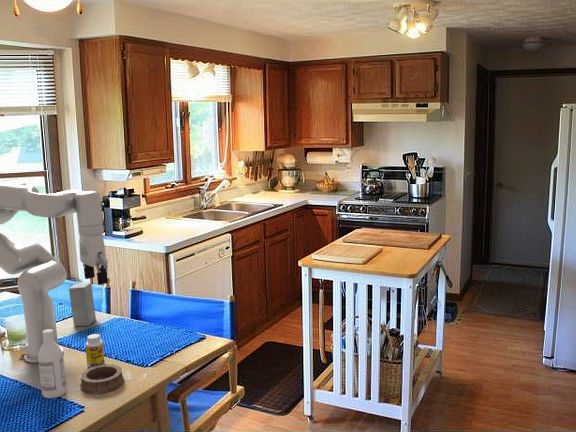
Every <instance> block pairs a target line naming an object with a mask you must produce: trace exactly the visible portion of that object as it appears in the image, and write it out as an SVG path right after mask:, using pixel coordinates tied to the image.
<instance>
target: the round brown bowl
mask: <svg viewBox="0 0 576 432" xmlns="http://www.w3.org/2000/svg"><path fill="white" fill-rule="evenodd" d="M80 380H81V381H80V386H79V387H80V390H81V391H82V392H83V393H85V394H88V395H101V394H106V393H110V392H113V391H116V390H117V389H120V388H121V387H122V386H123V385H124V383H125V377H124V376H123V369H122V366H119V365H116V364H110V363H109V364H108V363H107V364H106V363H104V365H98V366H94V367H92V368H90V367H88V368H87V369H85V370H84V371H83V372H82V373H81V375H80Z"/></svg>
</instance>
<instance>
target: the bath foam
mask: <svg viewBox="0 0 576 432" xmlns="http://www.w3.org/2000/svg"><path fill="white" fill-rule="evenodd" d="M42 334H43V342H44V343H43V345H42V347H41V348H40V351H39V354H38V363H37V365H38V371H39V372H38V373H39V381H40V389H41V395H42V397H44V398H45V399H55V398H59V397H61V396H63V395H64V394H65V393H66V392H67V381H66V371H65V361H64V352H63V353H62V350H61V348H60V347H61V346H60V345H59V344H58V345H57V344H56V343H55V342H54V335H53V330H52V329H46V330H44V331H43V332H42ZM59 346H60V347H59Z"/></svg>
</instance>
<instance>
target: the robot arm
mask: <svg viewBox="0 0 576 432" xmlns="http://www.w3.org/2000/svg"><path fill="white" fill-rule="evenodd" d="M19 211H21V212H27V213H28V214H30V215H31V216H35V217H40V218H51V219H53V218H54V219H56V218H61V217H65V216H68V215H71V214H75V213H76V219H77V228H78V236H79V238H78V239H79V241H78V243H79V246H78V247H79V259H80V262H81V263H82V266H83V273H84V279H85V280H89V279H93V278H95V275H96V278H97V285H99V286H101V285H105V284H108V283H109V279H108V277H109V276H108V259H107V253H106V246H105V241H104V236H103V234H104V223H103V213H102V205H101V197H100V193H99V192H98V191H96V190H86V191H85V190H84V191H83V190H78V189H68V190H64V191H59V192H56V193H48V194H47V193H40V192H39V189H38V188H37V187H35V186H33V185H28V184H26V183H25V182H24V181H21V180H10V181H4V182H0V225H4V224H6V223H8V222H10V220H11V219H13V218H14V217H15V215H17V214H18V212H19ZM94 267H95V268H94ZM0 269H1V270H3V271H4V272H5V273H7V275H19V274H20V275H19V276H18V279H17V289H18V292H19V295H20V298H21V301H22V307H23V314H24V323H25V330H26V339H27V340H26V341H27V342H26V341H22V342H21V343H20V346H19V347H18V350H20V351H25V354H24V356H23V359H24V361H26V362H28V363H31V364H38V354H39V351H40V348H41V347H42V345H43V343H44V342H43V334H42V332H43V331H44V330H46V329H52V330H53V335H54V342H55V343H56V344H57V345H58V346H59V347H60V348H61V350H62V353H63V354H64V347H62V346H60V345H59V341H58V332H57V322H56V314H55V313H56V311H55V305H54V301H53V299H52V298H51V297H50V295H49V292H50V291H53V290H54V289H56V288H59V287H60V286H63V284H64V283H65V282H66V280H67V276H68V273H67V270H66V268H65V266H64V264H62V263H61V262H60V260H58V259H57V258H56V257H55V256H54V255H53V254H51V253H50V252H49V251H48V250H47V249H46V248H45V247H43V246H42V245H41V244H39V243H37V242H35V241H25V242H22V243H18V244H17V243H15V242H13V241H11V240H10V239H9V238H8V237H7V236H6V235H4V234H3V233H1V232H0ZM95 269H96V270H97V272H96V274H95Z"/></svg>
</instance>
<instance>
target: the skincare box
mask: <svg viewBox="0 0 576 432" xmlns="http://www.w3.org/2000/svg"><path fill="white" fill-rule="evenodd" d="M68 293H69V300H70V305H71V306H70V307H71V313H72V323H73V326H74V327H86V326H88V327H89V326H91V325H92V323H93V322H94V321H95V320H96V319H97V317H96V310H95V301H94V295H93V294H94V293H93V285H92V281H91V282H89V281H87V282H76V283H75V284H72V285H71V287H69V288H68Z"/></svg>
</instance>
